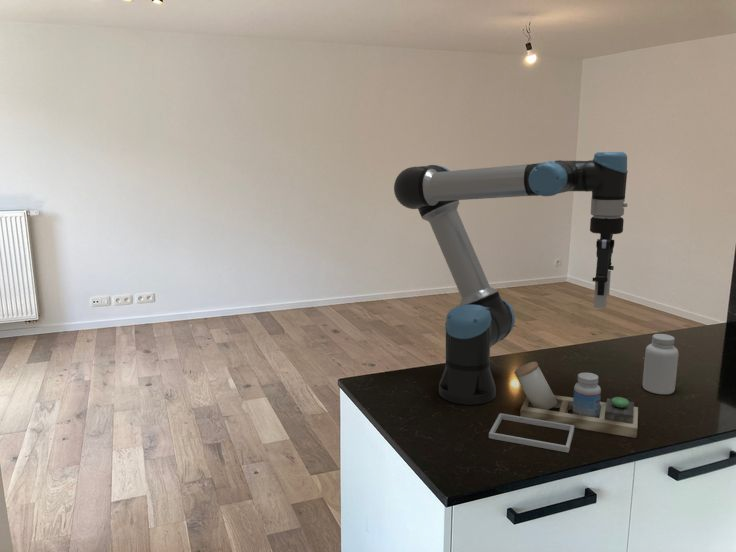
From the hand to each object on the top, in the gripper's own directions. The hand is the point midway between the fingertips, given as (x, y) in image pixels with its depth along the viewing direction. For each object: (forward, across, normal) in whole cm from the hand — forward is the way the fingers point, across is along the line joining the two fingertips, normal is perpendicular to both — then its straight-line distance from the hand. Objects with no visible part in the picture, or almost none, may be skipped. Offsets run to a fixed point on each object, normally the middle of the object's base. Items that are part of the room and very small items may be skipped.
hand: (601, 301), depth 148 cm
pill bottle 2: (+27, +14, -15) cm, 34 cm away
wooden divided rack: (+27, -12, +3) cm, 29 cm away
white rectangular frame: (+27, -25, +12) cm, 38 cm away
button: (+23, -12, -6) cm, 27 cm away
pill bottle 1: (+27, -12, +1) cm, 30 cm away
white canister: (+25, -12, +11) cm, 30 cm away
